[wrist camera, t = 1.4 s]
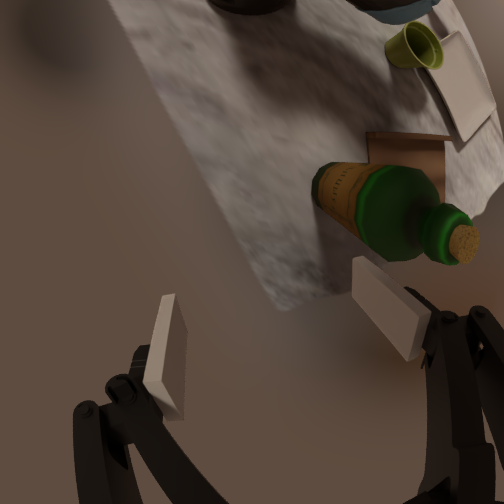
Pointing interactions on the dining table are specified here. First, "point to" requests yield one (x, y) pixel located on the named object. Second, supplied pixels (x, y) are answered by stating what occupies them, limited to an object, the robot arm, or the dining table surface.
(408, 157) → the cradle
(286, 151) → the dining table surface
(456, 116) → the salad plate
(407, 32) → the plant pot
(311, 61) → the dining table surface
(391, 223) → the bottle
